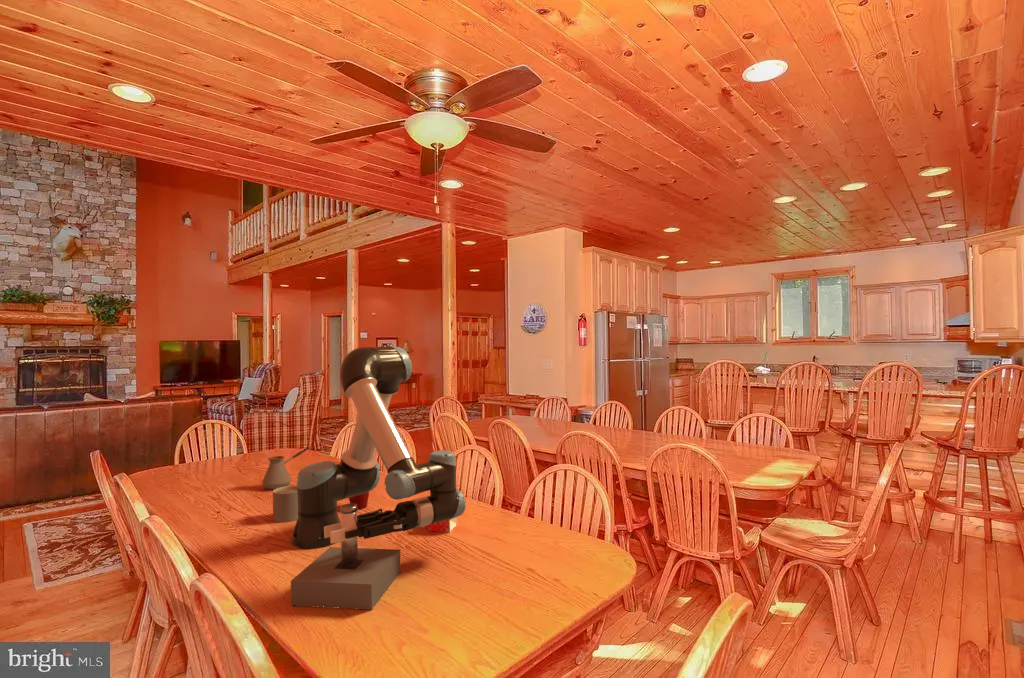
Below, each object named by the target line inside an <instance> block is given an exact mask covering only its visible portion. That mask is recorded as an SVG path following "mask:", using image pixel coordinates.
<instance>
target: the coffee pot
mask: <svg viewBox="0 0 1024 678" xmlns="http://www.w3.org/2000/svg"><path fill="white" fill-rule="evenodd" d="M307 450H308V451H309V450H312V449H311V447H310V446H308V447H306V448H303V450H301V451H298V452H297V453H296V454H294V455H293V456H291V457H290V458H288V459H286V460H285V461H284V459H285V456H282V455H278V456H271V457H268V461H269V465H268V467H267V470H266V472H265V474H264V477H263V479H262V482H261V484H262V486H263V487H264V488H265V489H267V490H270V491H273V490H275V489H277V488H280V487H285V486H289V485H290V483H291V481H292V478H291V475H290V473H289V471H288V469H287V468H286V466H285V465H286V463H289V462H290V461H292V460H293V459H296V458H297V457H299V456H300V455H302V454H303V453H305V452H307Z"/></svg>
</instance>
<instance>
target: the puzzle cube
mask: <svg viewBox="0 0 1024 678" xmlns="http://www.w3.org/2000/svg"><path fill="white" fill-rule="evenodd" d="M456 524H457V525H458V517H455V518H452V519H450V520H444V521H440V522H436V523H432V524H428V525H426V532H427V531H435V532H434V533H442V532H450V531H451V530H452V529H453V528H454V527H455V528H456V527H457V525H456ZM455 528H454V529H455ZM454 529H453V530H454ZM453 530H452V531H453ZM436 531H437V532H436ZM452 531H451V532H452ZM451 532H450V533H451Z"/></svg>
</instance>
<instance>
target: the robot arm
mask: <svg viewBox="0 0 1024 678" xmlns="http://www.w3.org/2000/svg"><path fill="white" fill-rule="evenodd" d="M412 365H413V364H412V360H411V357H410V355H409V353H408V352H407V351H406V349H404V348H402V347H400V346H391V345H388V346H372V347H371V346H362V347H357V348H353V350H351V351H349V352H348V353H347V354H346V356H345V357H344V359H343V360H342V363H341V365H340V369H339V379H340V380H339V381H340V384H341V385H340V386H341V388H342V390H343V392H344V394H345V396H346V397H347V398H348V399H351V401H352V403H353V404H354V406H355V408H356V410H357V412H358V414H357V418H356V422H355V425H354V430H353V433H352V436H351V439H350V444H349V446H348V449H347V450H345V451H344V452H343V453H342V455H341V458H340V462H339V463H336V462H335V461H331V460H324V461H318V462H315V463H310V464H308V465H306V466H304V467H303V468H301V469H300V470H299V472H298V474H297V481H296V486H297V488H298V519H297V520H296V521H295V522H296V523H295V526H294V529H293V532H292V537H291V540H292V541H291V542H292V545H293V546H294V547H297V548H302V549H316V548H317V549H318V548H323V547H326V546H330V545H333V544H335V543H339V542H340V543H341V541H344V540H348V539H352V538H356V537H357V538H363V540H364V539H365V540H367V539H370V538H375V537H379V536H384V535H388V534H391V533H398V532H399V533H401V532H406V531H410V530H413V529H415V528H420V527H421V528H425V526H427V525H428V524H432V523H436V522H440V521H444V520H450V519H452V518H455V517H457V518H458V517H460V516H462V515H463V514H464V513H465V510H466V507H467V504H466V500H465V496H464V494H463V492H462V490H460V489H457V462H456V461H457V460H456V454H455V453H454V452H453V451H451V450H444V449H443V450H435V451H432V452H430V454H429V457H428V461H427V462H424V463H419V464H416V463H417V462H415V460H414V458H413V456H412V454H411V452H410V450H409V447H408V446H407V444H406V442H405V440H404V439H403V437H402V435H401V433H400V431H399V429H398V427H397V425H396V423H395V421H394V419H393V417H392V415H391V413H390V411H389V410H388V409H389V407H390V402H391V399H392V397H393V395H396V394H397V393H398V392H399V389H400V386H401V383H405V382H406V381H408V380H409V379H410V378H411V375H412V372H413V366H412ZM376 452H377V453H378V455H379V456H380V459H381V461H382V463H383V465H384V467H385V469H386V472H387V474H386V476H385V479H384V485H385V491H386V494H387V495H388V496H389V497H390V498H391V499H392V500H396V501H397V500H402V499H407V498H411V497H412V496H415V495H419V494H422V493H424V492H427V491H429V493H430V495H428V496H422V497H418V498H413V499H412V500H406V501H401V502H397V504H396V505H395V508H394V510H391V509H389V510H385V511H383V508H379V509H377V510H374V511H370V512H366V513H361V514H357V526H352V527H348V528H344V529H341V518H340V517H339V514H338V502H339V501H342V500H347V499H349V498H350V497H354V496H357V495H362V494H365V493H367V492H369V493H370V492H371V491H373V490H374V489H376V487H377V486H378V484H379V481H380V479H381V471H380V470H381V467H380V463H378V460H377V457H376V456H375V454H376Z"/></svg>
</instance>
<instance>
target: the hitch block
mask: <svg viewBox="0 0 1024 678" xmlns="http://www.w3.org/2000/svg"><path fill="white" fill-rule="evenodd" d="M401 570H402V569H401V549H394V548H392V549H391V548H368V547H367V548H363V547H358V561H357V562H356V563H353V564H349V565H345V564H342V563H341V546H340V547H338V546H337V547H336V546H334V547H333V546H329V547H328V548H327V549H326V550H325V551H323V552H322V553H321V554H320V555H319V556H318V557H317V558H316V559H314V560H313V561H312V562H311V563H310V564H308V565H307V566H306V567H305V568H304V569H303V570H302V571H300V572H299V573H298V574H297V575H296V576H294V578H292V579H291V580H290V606H291V605H296V606H295V607H301V606H315V607H314V608H321V607H323V606H324V607H339V608H338V609H340V608H357V609H356V610H360V609H372V610H373V609H374V608H375V607H376V605H377V604H378V603H379V601H380V600H381V599H380V598H382V597H383V596H384V595H385V593H386V592H387V591H388V589H389V588H390V587H391V585H392V584H393V582H394V581H395V580H396V578H397V577H398V576H399V575H400V573H401ZM383 594H384V595H383ZM377 602H378V603H377ZM376 603H377V604H376ZM317 606H319V607H317ZM374 606H375V607H374ZM373 607H374V608H373Z"/></svg>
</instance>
